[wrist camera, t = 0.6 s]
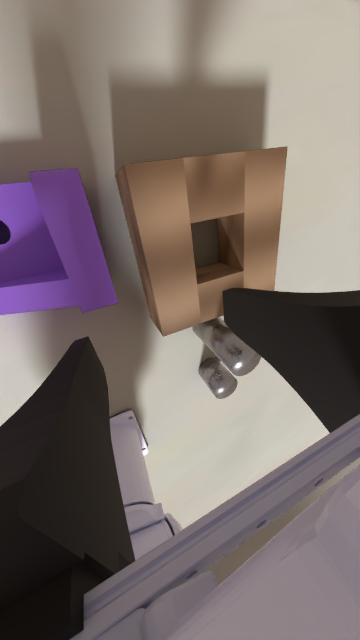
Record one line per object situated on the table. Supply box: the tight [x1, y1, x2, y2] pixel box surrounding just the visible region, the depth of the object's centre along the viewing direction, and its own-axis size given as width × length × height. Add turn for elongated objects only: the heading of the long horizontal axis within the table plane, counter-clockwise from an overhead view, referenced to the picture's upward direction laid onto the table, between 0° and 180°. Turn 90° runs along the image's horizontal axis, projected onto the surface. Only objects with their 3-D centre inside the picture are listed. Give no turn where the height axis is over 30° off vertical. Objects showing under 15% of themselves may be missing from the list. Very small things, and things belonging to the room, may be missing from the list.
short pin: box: [199, 358, 237, 399], centre depth 26 cm, size 3×3×4 cm
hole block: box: [115, 147, 287, 337], centre depth 18 cm, size 12×12×4 cm
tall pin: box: [193, 317, 261, 376], centre depth 21 cm, size 3×3×8 cm
